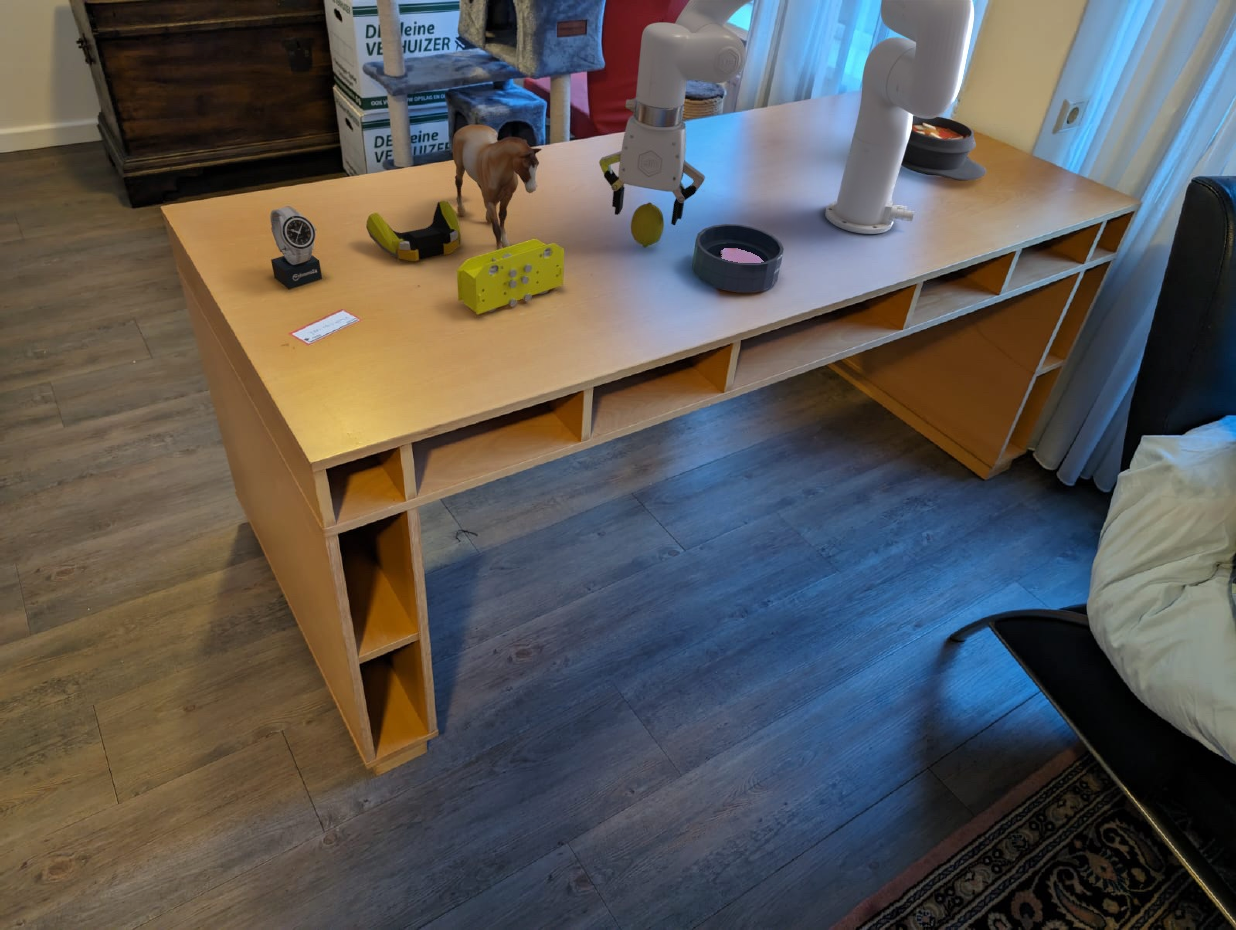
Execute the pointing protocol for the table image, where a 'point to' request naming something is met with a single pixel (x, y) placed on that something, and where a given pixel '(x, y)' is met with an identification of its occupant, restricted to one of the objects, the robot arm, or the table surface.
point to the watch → (294, 248)
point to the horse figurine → (493, 170)
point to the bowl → (734, 273)
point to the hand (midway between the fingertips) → (646, 216)
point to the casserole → (941, 149)
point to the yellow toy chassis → (510, 275)
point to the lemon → (647, 224)
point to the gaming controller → (418, 236)
